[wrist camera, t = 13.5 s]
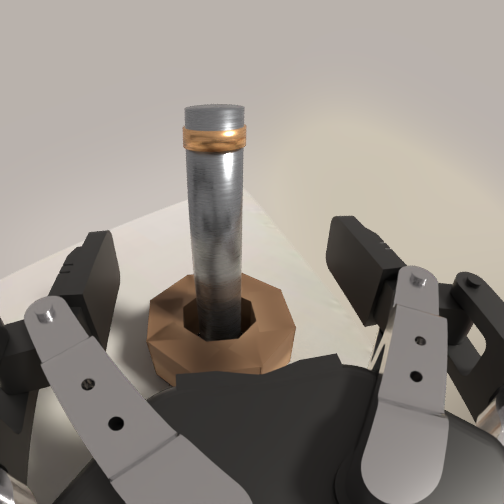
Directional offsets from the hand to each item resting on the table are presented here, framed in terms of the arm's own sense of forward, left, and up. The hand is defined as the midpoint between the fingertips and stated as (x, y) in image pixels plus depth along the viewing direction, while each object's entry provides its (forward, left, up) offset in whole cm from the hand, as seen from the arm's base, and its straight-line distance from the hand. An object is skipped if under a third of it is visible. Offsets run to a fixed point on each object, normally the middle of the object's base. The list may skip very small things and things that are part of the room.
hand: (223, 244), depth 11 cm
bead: (0, +4, -10) cm, 10 cm away
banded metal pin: (0, +4, -10) cm, 10 cm away
